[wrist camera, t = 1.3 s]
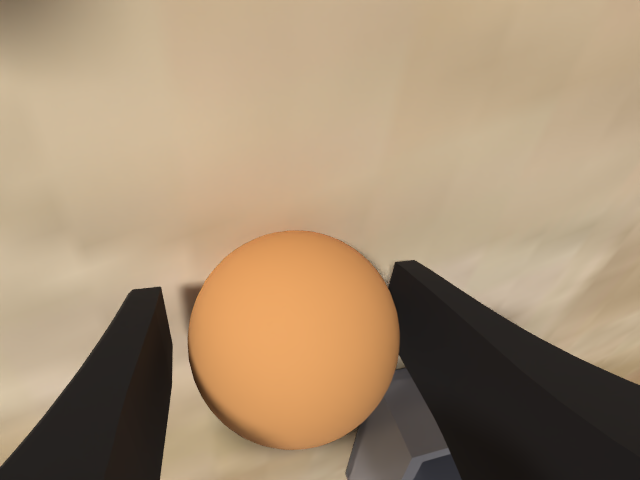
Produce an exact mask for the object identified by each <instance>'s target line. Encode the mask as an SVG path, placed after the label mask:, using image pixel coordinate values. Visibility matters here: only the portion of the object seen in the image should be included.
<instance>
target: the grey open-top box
mask: <svg viewBox="0 0 640 480" xmlns="http://www.w3.org/2000/svg"><path fill="white" fill-rule="evenodd" d="M346 477H347V480H462V479H461V477H460V474H459V472H458V469H457V467H456V465H455V462H454V460H453V458H452V456H451V453H450V451H449V449H448V446H447V444H446V442H445V440H444V437H443V435H442V433H441V431H440V429H439V427H438V425H437V423H436V421H435V419H434V417H433V415H432V413H431V411H430V410H429V408H428V406H427V404H426V402H425V401H424V399H423V397H422V395H421V393H420V392H419V390H418V388H417V386H416V385H415V383H414V381H413V379H412V377H411V376H410V374H409V372H408V370H407V368H404V369H399V370H395V373H394V375H393V378H392V381H391V383H390V386H389V388H388V390H387V391H386V393H385V395H384V397H383V398H382V400H381V402H380V403H379V405H378V406H377V407H376V408H375V410H374V411H373V412H372V413H371V414H370V415H369V417H368V418H367V419H366V420H365V421H364V422H362V423H361V424H360V425H359V428H358V431H357V435H356V438H355V442H354V445H353V449H352V452H351V456H350V459H349V463H348V466H347V469H346Z"/></svg>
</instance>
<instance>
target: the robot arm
mask: <svg viewBox="0 0 640 480" xmlns="http://www.w3.org/2000/svg"><path fill="white" fill-rule="evenodd" d="M388 289H389V291H390V293H391V296H392V299H393V301H394V304H395V308H396V311H397V316H398V322H399V329H400V347H399V356H400V357H401V359H402V361H403V363H404V365H405V367H406V368H407V370H408V372H409V374H410V376H411V377H412V379H413V381H414V383H415V385H416V386H417V388H418V390H419V392H420V393H421V395H422V397H423V399H424V401H425V402H426V404H427V406H428V408H429V410H430V411H431V413H432V415H433V417H434V419H435V421H436V423H437V425H438V427H439V429H440V431H441V433H442V435H443V437H444V440H445V442H446V444H447V446H448V449H449V451H450V453H451V456H452V458H453V460H454V462H455V465H456V467H457V469H458V472H459V474H460V477H461V479H462V480H640V385H638V384H635V383H633V382H630V381H628V380H626V379H623V378H621V377H619V376H617V375H614V374H612V373H610V372H608V371H606V370H603V369H601V368H599V367H597V366H594V365H592V364H590V363H588V362H586V361H584V360H582V359H579V358H577V357H575V356H573V355H571V354H569V353H567V352H565V351H563V350H562V349H560V348H558V347H556V346H554V345H552V344H550V343H548V342H546V341H544V340H542V339H540V338H538V337H537V336H535V335H533V334H531V333H529V332H528V331H526V330H524V329H523V328H521V327H519V326H517V325H516V324H514V323H512V322H511V321H509V320H507V319H506V318H504V317H502V316H501V315H499V314H497V313H496V312H494V311H493V310H491V309H489V308H488V307H486V306H485V305H483V304H481V303H480V302H478V301H477V300H475V299H474V298H472V297H471V296H469V295H468V294H466V293H465V292H463V291H462V290H460V289H459V288H457V287H456V286H454V285H453V284H451V283H450V282H448V281H447V280H445V279H444V278H442V277H441V276H439V275H438V274H436V273H434V272H433V271H431V270H430V269H428V268H427V267H425V266H423V265H422V264H420V263H418V262H417V261H415V260H410V261H401V262H395V265H394V269H393V273H392V276H391V280H390V284H389V288H388ZM172 351H173V344H172V339H171V334H170V329H169V324H168V319H167V314H166V309H165V304H164V299H163V294H162V289H161V287H153V288H143V289H134V290H132V291H131V292H130V293H129V294H128V295H127V297H126V299H125V301H124V302H123V304H122V306H121V307H120V309H119V311H118V312H117V314H116V316H115V317H114V319H113V320H112V322H111V324H110V325H109V327H108V328H107V330H106V331H105V333H104V334H103V336H102V337H101V339H100V340H99V342H98V343H97V345H96V346H95V348H94V349H93V350H92V352H91V353H90V355H89V356H88V358H87V359H86V361H85V362H84V363H83V365H82V366H81V368H80V369H79V371H78V372H77V373H76V375H75V376H74V377H73V379H72V380H71V381H70V383H69V384H68V385H67V386H66V388H65V389H64V390H63V392H62V393H61V394H60V396H59V397H58V398H57V399H56V401H55V402H54V403H53V405H52V406H51V407H50V409H49V410H48V411H47V412H46V414H45V415H44V416H43V417H42V419H41V420H40V421H39V422H38V424H37V425H36V426H35V427H34V428H33V430H32V431H31V432H30V433H29V434H28V436H27V437H26V438H25V439H24V440H23V442H22V443H21V444H20V445H19V446H18V447H17V449H16V450H15V451H14V452H13V453H12V454H11V455H10V457H9V458H8V459H7V460H6V461H5V462H4V463H3V465H2V466H1V467H0V480H160V474H161V466H162V459H163V451H164V443H165V436H166V428H167V420H168V412H169V404H170V396H171V388H172Z"/></svg>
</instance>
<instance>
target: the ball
mask: <svg viewBox="0 0 640 480" xmlns="http://www.w3.org/2000/svg"><path fill="white" fill-rule="evenodd" d="M399 347H400V329H399V322H398V316H397V311H396V308H395V304H394V301H393V299H392V296H391V293H390V291H389V289H388V287H387V285H386V283H385V282H384V280H383V278H382V277H381V275H380V274H379V273H378V271H377V270H376V269H375V268H374V266H373V265H372V264H371V263H370V262H369V261H368V260H367V259H366V258H365V257H364V256H363V255H361V254H360V253H359V252H358V251H356V250H355V249H354V248H352V247H350V246H349V245H347V244H345V243H343V242H342V241H340V240H338V239H335V238H332V237H330V236H327V235H324V234H320V233H315V232H310V231H283V232H276V233H272V234H268V235H264V236H262V237H259V238H256V239H254V240H252V241H250V242H248V243H246V244H244V245H242V246H241V247H239V248H237V249H236V250H234V251H233V252H232V253H230V254H229V255H228V256H227V257H225V258H224V259H223V260H222V261H221V263H220V264H219V265H218V266H217V267H216V268H215V269H214V270H213V271H212V273H211V274H210V275H209V277H208V278H207V279H206V281H205V283H204V285H203V286H202V288H201V290H200V292H199V294H198V296H197V298H196V301H195V304H194V307H193V310H192V313H191V317H190V323H189V331H188V353H189V362H190V366H191V370H192V374H193V377H194V381H195V383H196V385H197V388H198V390H199V392H200V394H201V396H202V398H203V399H204V401H205V402H206V404H207V405H208V407H209V408H210V410H211V411H212V412H213V413H214V414H215V415H216V417H217V418H218V419H219V420H220V421H221V422H222V423H223V424H224V425H226V426H227V427H228V428H230V429H231V430H232V431H234V432H235V433H237V434H238V435H240V436H241V437H243V438H245V439H247V440H250V441H252V442H254V443H257V444H260V445H263V446H266V447H271V448H277V449H284V450H297V449H307V448H313V447H318V446H321V445H325V444H327V443H330V442H333V441H335V440H337V439H339V438H341V437H343V436H344V435H346V434H347V433H349V432H351V431H352V430H353V429H355V428H356V427H358V426H359V425H360V424H361V423H362V422H364V421H365V420H366V419H367V418H368V417H369V415H370V414H371V413H372V412H373V411H374V410H375V408H376V407H377V406H378V405H379V403H380V402H381V400H382V398H383V397H384V395H385V393H386V391H387V390H388V388H389V386H390V383H391V381H392V378H393V375H394V373H395V370H396V366H397V361H398V355H399Z"/></svg>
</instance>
